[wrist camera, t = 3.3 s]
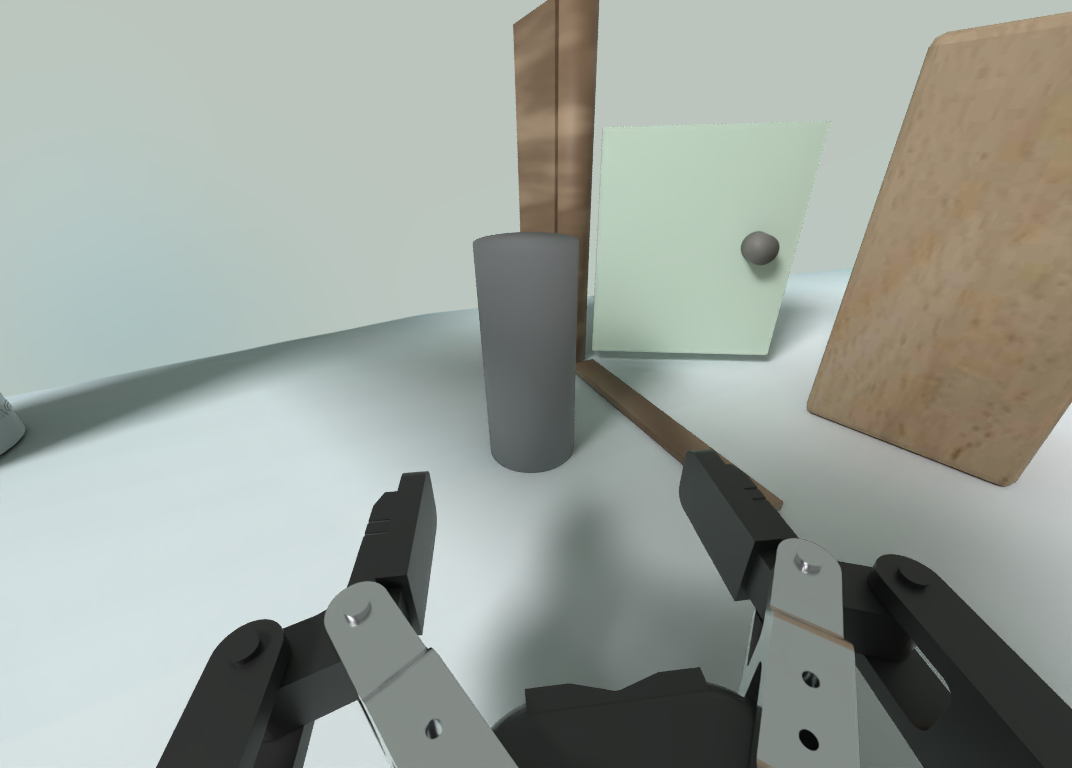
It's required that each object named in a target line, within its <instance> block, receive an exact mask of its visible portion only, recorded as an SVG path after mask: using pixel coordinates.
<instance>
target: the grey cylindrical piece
mask: <svg viewBox="0 0 1072 768" xmlns="http://www.w3.org/2000/svg"><path fill="white" fill-rule="evenodd" d="M473 252H474V263H475V274H476V286H477V296H478V308H479V320H480V331H481V342H482V354H483V365H484V376H485V388H486V399H487V410H488V421H489V433H490V444H491V452H492V455H493V457H494V459H495V460H496V461H497V462H498V463H499V464H501V465H502V466H504V467H506V468H508V469H510V470H514V471H518V472H525V473H537V472H544V471H548V470H551V469H554V468H556V467H558V466H560V465H562V464H563V463H564V462H566V461H567V460H568V458H569V457H570V456H571V454H572V451H573V437H574V402H575V368H576V333H577V299H578V264H579V239H578V238H576V237H574V236H570V235H566V234H559V233H548V232H517V233H505V234H496V235H490V236H486V237H482V238H479V239H476V240H475V241H474V242H473Z"/></svg>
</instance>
